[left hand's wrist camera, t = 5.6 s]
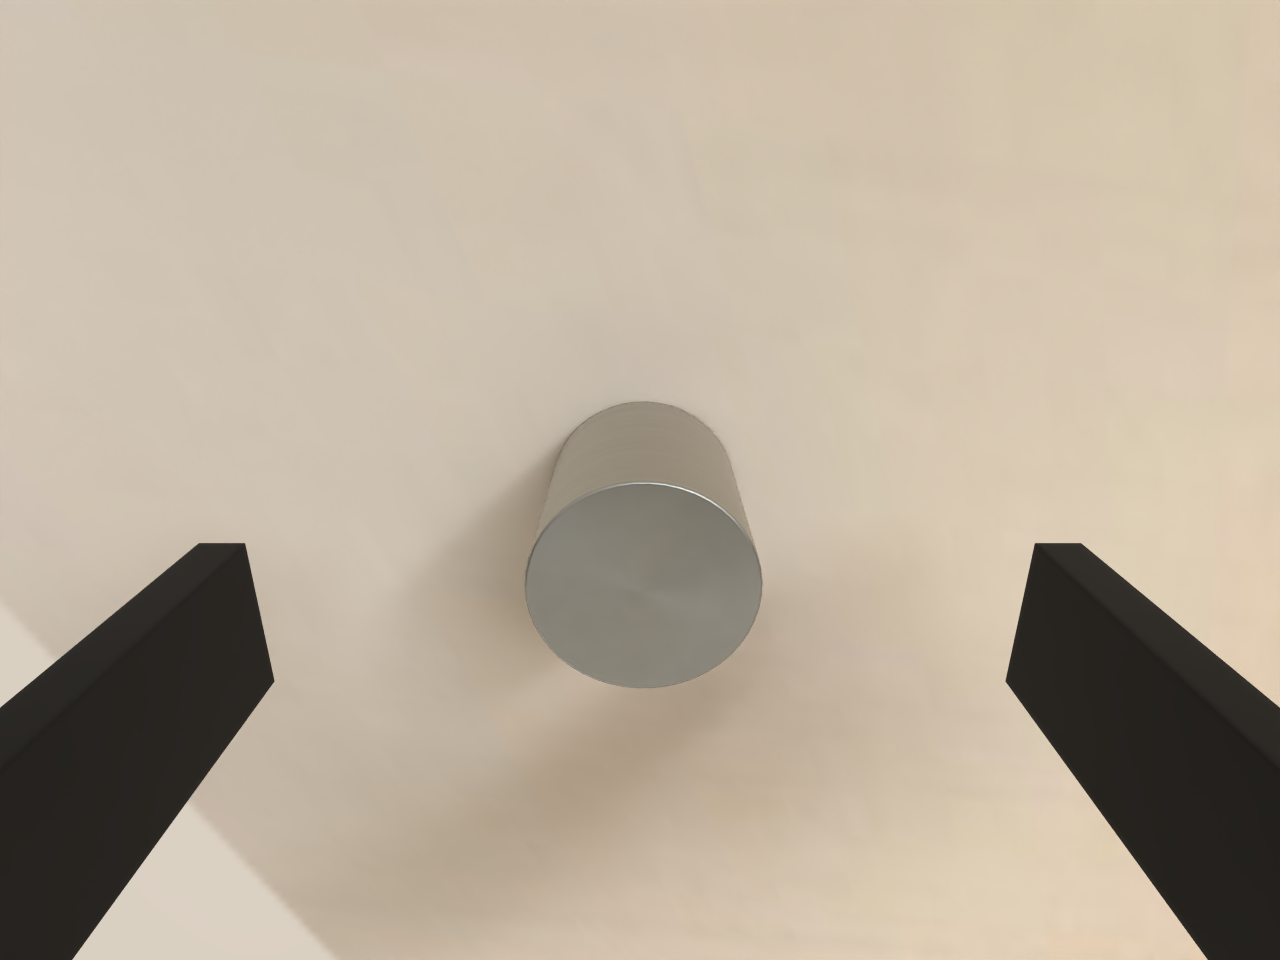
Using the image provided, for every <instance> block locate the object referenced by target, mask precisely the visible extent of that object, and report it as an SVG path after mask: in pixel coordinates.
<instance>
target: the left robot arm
mask: <svg viewBox="0 0 1280 960" xmlns="http://www.w3.org/2000/svg"><path fill="white" fill-rule="evenodd" d="M273 683H274V677H273V672H272V667H271V663H270V658H269V653H268V649H267V644H266V639H265V635H264V630H263V625H262V621H261V616H260V611H259V606H258V602H257V597H256V592H255V588H254V583H253V578H252V574H251V569H250V564H249V560H248V555H247V550H246V546H245V543H199V544H197V545H196V546H195V547H194V548H193V549H191V550H190V551H189V552H188V553H187V554H185V555H184V556H183V557H182V558H181V559H179V560H178V561H177V562H176V563H175V564H173V565H172V566H171V567H170V568H168V569H167V570H166V571H165V572H164V573H162V574H161V575H160V576H159V577H158V578H156V579H155V580H154V581H153V582H152V583H150V584H149V585H148V586H147V587H146V588H144V589H143V590H142V591H141V592H139V593H138V594H137V595H136V596H135V597H133V598H132V599H131V600H130V601H129V602H127V603H126V604H125V605H124V606H123V607H121V608H120V609H119V610H118V611H117V612H115V613H114V614H113V615H112V616H110V617H109V618H108V619H107V620H106V621H104V622H103V623H102V624H101V625H100V626H98V627H97V628H96V629H95V630H94V631H92V632H91V633H90V634H89V635H88V636H86V637H85V638H84V639H83V640H81V641H80V642H79V643H78V644H77V645H75V646H74V647H73V648H72V649H71V650H69V651H68V652H67V653H66V654H65V655H63V656H62V657H61V658H60V659H59V660H57V661H56V662H55V663H54V664H52V665H51V666H50V667H49V668H48V669H46V670H45V671H44V672H43V673H42V674H40V675H39V676H38V677H37V678H36V679H34V680H33V681H32V682H31V683H30V684H28V685H27V686H26V687H25V688H24V689H22V690H21V691H20V692H19V693H17V694H16V695H15V696H14V697H13V698H11V699H10V700H9V701H8V702H7V703H5V704H4V705H3V706H2V707H1V708H0V960H72V959H73V958H74V956H75V955H76V954H77V952H78V951H79V950H80V948H81V947H82V945H83V944H84V943H85V941H86V940H87V939H88V937H89V936H90V934H91V933H92V932H93V930H94V929H95V928H96V926H97V925H98V923H99V922H100V921H101V919H102V918H103V917H104V915H105V914H106V912H107V911H108V910H109V908H110V907H111V906H112V904H113V903H114V901H115V900H116V899H117V897H118V896H119V895H120V893H121V892H122V890H123V889H124V888H125V886H126V885H127V884H128V882H129V881H130V879H131V878H132V877H133V875H134V874H135V873H136V871H137V870H138V868H139V867H140V866H141V864H142V863H143V862H144V860H145V859H146V857H147V856H148V855H149V853H150V852H151V851H152V849H153V848H154V846H155V845H156V844H157V842H158V841H159V839H160V838H161V837H162V835H163V834H164V833H165V831H166V830H167V829H168V827H169V826H170V824H171V823H172V822H173V820H174V819H175V818H176V816H177V815H178V813H179V812H180V811H181V809H182V808H183V807H184V805H185V804H186V802H187V801H188V800H189V798H190V797H191V795H192V794H193V793H194V791H195V790H196V789H197V787H198V786H199V784H200V783H201V782H202V780H203V779H204V778H205V776H206V775H207V773H208V772H209V771H210V769H211V768H212V767H213V765H214V764H215V762H216V761H217V760H218V758H219V757H220V756H221V754H222V753H223V751H224V750H225V749H226V747H227V746H228V745H229V743H230V742H231V740H232V739H233V738H234V736H235V735H236V734H237V732H238V731H239V729H240V728H241V727H242V725H243V724H244V723H245V721H246V720H247V718H248V717H249V716H250V714H251V713H252V712H253V710H254V709H255V707H256V706H257V705H258V703H259V702H260V701H261V699H262V698H263V696H264V695H265V694H266V692H267V691H268V690H269V688H270V687H271V685H272V684H273ZM1006 683H1007V684H1008V685H1009V687H1010V688H1011V690H1012V691H1013V692H1014V694H1015V695H1016V696H1017V698H1018V699H1019V701H1020V702H1021V703H1022V705H1023V706H1024V707H1025V709H1026V710H1027V712H1028V713H1029V714H1030V716H1031V717H1032V718H1033V720H1034V721H1035V723H1036V724H1037V725H1038V727H1039V728H1040V729H1041V731H1042V732H1043V734H1044V735H1045V736H1046V738H1047V739H1048V740H1049V742H1050V743H1051V745H1052V746H1053V747H1054V749H1055V750H1056V751H1057V753H1058V754H1059V756H1060V757H1061V758H1062V760H1063V761H1064V762H1065V764H1066V765H1067V767H1068V768H1069V769H1070V771H1071V772H1072V773H1073V775H1074V776H1075V778H1076V779H1077V780H1078V782H1079V783H1080V784H1081V786H1082V787H1083V789H1084V790H1085V791H1086V793H1087V794H1088V795H1089V797H1090V798H1091V800H1092V801H1093V802H1094V804H1095V805H1096V807H1097V808H1098V809H1099V811H1100V812H1101V813H1102V815H1103V816H1104V818H1105V819H1106V820H1107V822H1108V823H1109V824H1110V826H1111V827H1112V829H1113V830H1114V831H1115V833H1116V834H1117V835H1118V837H1119V838H1120V840H1121V841H1122V842H1123V844H1124V845H1125V846H1126V848H1127V849H1128V851H1129V852H1130V853H1131V855H1132V856H1133V857H1134V859H1135V860H1136V862H1137V863H1138V864H1139V866H1140V867H1141V868H1142V870H1143V871H1144V873H1145V874H1146V875H1147V877H1148V878H1149V879H1150V881H1151V882H1152V884H1153V885H1154V886H1155V888H1156V889H1157V890H1158V892H1159V893H1160V895H1161V896H1162V897H1163V899H1164V900H1165V901H1166V903H1167V904H1168V906H1169V907H1170V908H1171V910H1172V911H1173V912H1174V914H1175V915H1176V917H1177V918H1178V919H1179V921H1180V922H1181V923H1182V925H1183V926H1184V928H1185V929H1186V930H1187V932H1188V933H1189V934H1190V936H1191V937H1192V939H1193V940H1194V941H1195V943H1196V944H1197V945H1198V947H1199V948H1200V950H1201V951H1202V952H1203V954H1204V955H1205V956H1206V958H1207V959H1208V960H1280V708H1279V707H1278V706H1277V705H1276V704H1275V703H1273V702H1272V701H1271V700H1270V699H1269V698H1267V697H1266V696H1265V695H1264V694H1263V693H1261V692H1260V691H1259V690H1258V689H1257V688H1255V687H1254V686H1253V685H1252V684H1250V683H1249V682H1248V681H1247V680H1246V679H1244V678H1243V677H1242V676H1241V675H1240V674H1238V673H1237V672H1236V671H1235V670H1234V669H1232V668H1231V667H1230V666H1229V665H1228V664H1226V663H1225V662H1224V661H1223V660H1221V659H1220V658H1219V657H1218V656H1217V655H1215V654H1214V653H1213V652H1212V651H1211V650H1209V649H1208V648H1207V647H1206V646H1205V645H1203V644H1202V643H1201V642H1200V641H1199V640H1197V639H1196V638H1195V637H1194V636H1192V635H1191V634H1190V633H1189V632H1188V631H1186V630H1185V629H1184V628H1183V627H1182V626H1180V625H1179V624H1178V623H1177V622H1176V621H1174V620H1173V619H1172V618H1171V617H1170V616H1168V615H1167V614H1166V613H1165V612H1163V611H1162V610H1161V609H1160V608H1159V607H1157V606H1156V605H1155V604H1154V603H1153V602H1151V601H1150V600H1149V599H1148V598H1147V597H1145V596H1144V595H1143V594H1142V593H1141V592H1139V591H1138V590H1137V589H1136V588H1134V587H1133V586H1132V585H1131V584H1130V583H1128V582H1127V581H1126V580H1125V579H1124V578H1122V577H1121V576H1120V575H1119V574H1118V573H1116V572H1115V571H1114V570H1113V569H1112V568H1110V567H1109V566H1108V565H1107V564H1105V563H1104V562H1103V561H1102V560H1101V559H1099V558H1098V557H1097V556H1096V555H1095V554H1093V553H1092V552H1091V551H1090V550H1089V549H1087V548H1086V547H1085V546H1084V545H1083V544H1081V543H1035V545H1034V550H1033V555H1032V560H1031V564H1030V569H1029V574H1028V578H1027V583H1026V588H1025V592H1024V597H1023V602H1022V606H1021V611H1020V616H1019V621H1018V625H1017V630H1016V635H1015V639H1014V644H1013V649H1012V653H1011V658H1010V663H1009V667H1008V672H1007V677H1006Z"/></svg>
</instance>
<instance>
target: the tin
mask: <svg viewBox="0 0 1280 960" xmlns="http://www.w3.org/2000/svg"><path fill="white" fill-rule="evenodd" d="M525 594H526V601H527V605H528V610H529V613H530V615H531V618H532V620H533V623H534V625H535V627H536V629H537V630H538V632H539V634H540V636H541V637H542V638H543V640H544V641H545V642H546V644H547V645H548V646H549V648H550V649H551V650H552V651H553V652H554V653H555V654H556V655H557V656H558V657H559V658H561V659H562V660H563V661H564V662H566V663H567V664H568V665H570V666H571V667H573V668H574V669H576V670H578V671H579V672H581V673H583V674H585V675H587V676H589V677H592V678H594V679H596V680H599V681H602V682H605V683H609V684H613V685H618V686H623V687H632V688H656V687H664V686H670V685H674V684H678V683H682V682H685V681H688V680H690V679H693V678H696V677H698V676H700V675H702V674H704V673H706V672H708V671H710V670H711V669H713V668H714V667H716V666H717V665H719V664H720V663H721V662H723V661H724V660H725V659H726V658H727V657H729V656H730V655H731V654H732V653H733V652H734V651H735V650H736V649H737V647H738V646H739V645H740V644H741V643H742V641H743V640H744V638H745V637H746V636H747V634H748V633H749V631H750V629H751V627H752V625H753V623H754V621H755V618H756V616H757V613H758V610H759V606H760V601H761V596H762V573H761V566H760V562H759V558H758V554H757V551H756V548H755V544H754V541H753V538H752V534H751V531H750V528H749V524H748V521H747V517H746V514H745V511H744V507H743V504H742V501H741V497H740V494H739V491H738V487H737V484H736V481H735V477H734V474H733V471H732V467H731V464H730V461H729V458H728V456H727V453H726V451H725V449H724V447H723V446H722V444H721V442H720V441H719V439H718V438H717V437H716V435H715V434H714V433H713V432H712V431H711V430H710V429H709V428H708V427H707V426H706V425H705V424H704V423H703V422H701V421H700V420H699V419H697V418H696V417H694V416H693V415H691V414H689V413H687V412H685V411H684V410H681V409H678V408H676V407H673V406H670V405H666V404H661V403H654V402H632V403H625V404H621V405H617V406H614V407H610V408H608V409H606V410H603V411H601V412H599V413H597V414H596V415H594V416H592V417H590V418H589V419H588V420H586V421H585V422H584V423H583V424H581V425H580V426H579V427H578V428H577V429H576V430H575V431H574V432H573V433H572V435H571V436H570V437H569V439H568V440H567V441H566V443H565V444H564V446H563V448H562V450H561V452H560V454H559V457H558V459H557V462H556V465H555V469H554V472H553V476H552V479H551V482H550V486H549V489H548V493H547V496H546V500H545V503H544V506H543V510H542V513H541V517H540V520H539V524H538V527H537V530H536V534H535V537H534V541H533V544H532V548H531V551H530V554H529V558H528V562H527V567H526V572H525Z"/></svg>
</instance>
